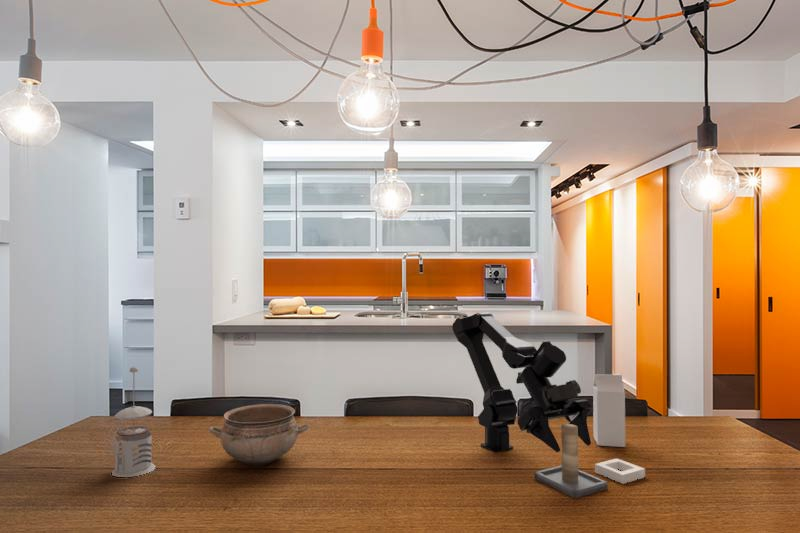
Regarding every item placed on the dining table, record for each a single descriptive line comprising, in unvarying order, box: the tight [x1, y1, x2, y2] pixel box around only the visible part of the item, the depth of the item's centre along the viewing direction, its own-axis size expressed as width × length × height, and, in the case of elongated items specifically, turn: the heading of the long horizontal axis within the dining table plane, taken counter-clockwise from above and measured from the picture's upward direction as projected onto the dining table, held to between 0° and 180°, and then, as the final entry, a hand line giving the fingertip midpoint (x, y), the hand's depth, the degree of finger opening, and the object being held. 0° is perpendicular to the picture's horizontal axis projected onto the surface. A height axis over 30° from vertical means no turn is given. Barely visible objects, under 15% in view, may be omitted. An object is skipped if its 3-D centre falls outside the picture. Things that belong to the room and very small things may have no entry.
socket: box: [594, 457, 646, 485], centre depth 121 cm, size 8×8×2 cm
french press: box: [106, 366, 157, 477], centre depth 124 cm, size 10×12×25 cm
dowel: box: [560, 423, 579, 483], centre depth 116 cm, size 4×4×12 cm
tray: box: [534, 464, 609, 499], centre depth 116 cm, size 12×10×2 cm
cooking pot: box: [208, 403, 311, 467], centre depth 131 cm, size 25×19×12 cm
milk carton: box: [592, 373, 626, 448], centre depth 144 cm, size 7×7×19 cm
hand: (574, 448), depth 115 cm, fingers open, 9 cm apart
